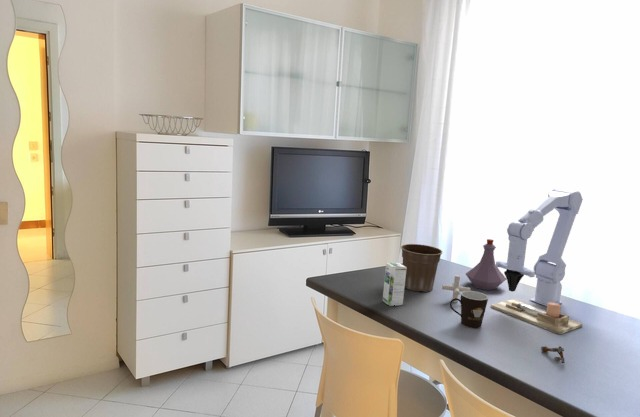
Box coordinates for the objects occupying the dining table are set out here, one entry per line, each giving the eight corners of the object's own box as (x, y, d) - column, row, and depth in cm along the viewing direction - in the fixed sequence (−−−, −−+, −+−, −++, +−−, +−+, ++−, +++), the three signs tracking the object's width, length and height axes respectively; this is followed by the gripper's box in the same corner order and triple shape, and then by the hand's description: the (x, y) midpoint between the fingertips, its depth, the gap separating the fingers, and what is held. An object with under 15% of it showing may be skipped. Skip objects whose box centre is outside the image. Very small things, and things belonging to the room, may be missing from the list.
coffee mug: (484, 321, 158) (488, 293, 157) (484, 331, 150) (488, 301, 149) (449, 315, 162) (452, 287, 160) (447, 324, 154) (450, 295, 152)
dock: (513, 301, 181) (514, 292, 180) (581, 326, 159) (583, 316, 159) (490, 307, 173) (491, 298, 172) (559, 334, 152) (560, 324, 151)
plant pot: (443, 287, 193) (447, 248, 190) (430, 297, 180) (434, 256, 177) (406, 278, 202) (410, 241, 199) (391, 287, 188) (394, 248, 185)
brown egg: (548, 318, 163) (551, 301, 162) (560, 322, 160) (562, 305, 159) (542, 320, 160) (545, 303, 159) (554, 324, 157) (557, 307, 156)
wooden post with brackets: (563, 363, 130) (560, 346, 131) (543, 362, 137) (540, 345, 138) (568, 363, 130) (566, 346, 131) (548, 361, 138) (545, 345, 139)
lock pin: (520, 307, 171) (520, 302, 170) (547, 318, 162) (548, 312, 162) (516, 308, 170) (517, 303, 169) (544, 319, 161) (545, 313, 161)
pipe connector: (469, 308, 171) (472, 281, 169) (441, 304, 173) (444, 278, 171) (467, 298, 180) (469, 273, 179) (440, 295, 182) (442, 270, 181)
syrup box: (381, 300, 173) (385, 262, 170) (396, 299, 175) (399, 262, 172) (388, 306, 167) (392, 267, 165) (403, 305, 169) (407, 266, 167)
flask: (482, 278, 208) (487, 234, 205) (514, 290, 195) (520, 243, 191) (455, 282, 200) (461, 236, 197) (487, 295, 186) (493, 246, 183)
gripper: (492, 251, 173) (488, 286, 176) (528, 261, 162) (523, 298, 164) (504, 249, 177) (499, 283, 180) (540, 258, 166) (535, 295, 168)
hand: (512, 290), depth 172 cm, fingers closed
